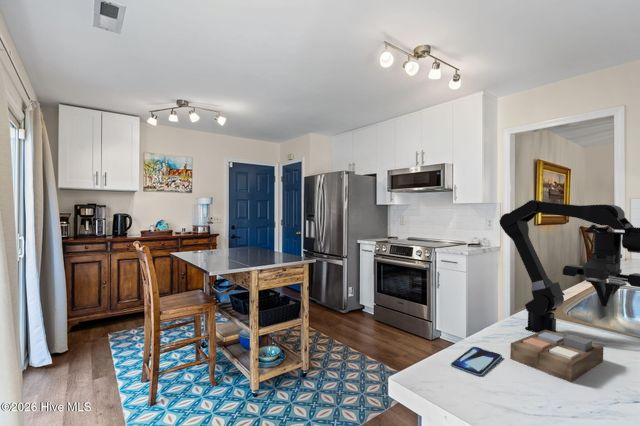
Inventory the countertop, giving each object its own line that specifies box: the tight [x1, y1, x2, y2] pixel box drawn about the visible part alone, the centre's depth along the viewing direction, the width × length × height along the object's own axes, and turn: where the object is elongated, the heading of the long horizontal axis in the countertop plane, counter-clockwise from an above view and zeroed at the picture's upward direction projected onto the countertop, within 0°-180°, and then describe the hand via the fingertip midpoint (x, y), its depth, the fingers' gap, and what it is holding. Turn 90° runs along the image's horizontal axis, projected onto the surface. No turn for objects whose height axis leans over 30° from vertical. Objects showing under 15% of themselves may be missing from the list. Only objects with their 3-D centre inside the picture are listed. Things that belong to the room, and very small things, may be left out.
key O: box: [564, 334, 593, 352], centre depth 82 cm, size 4×4×3 cm
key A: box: [549, 346, 579, 360], centre depth 77 cm, size 4×4×3 cm
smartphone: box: [450, 346, 503, 378], centre depth 81 cm, size 7×1×15 cm
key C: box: [538, 332, 564, 343], centre depth 87 cm, size 4×4×3 cm
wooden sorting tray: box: [509, 330, 605, 383], centre depth 82 cm, size 13×19×4 cm
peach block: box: [523, 338, 550, 350], centre depth 82 cm, size 4×4×3 cm
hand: (604, 306), depth 89 cm, fingers closed
